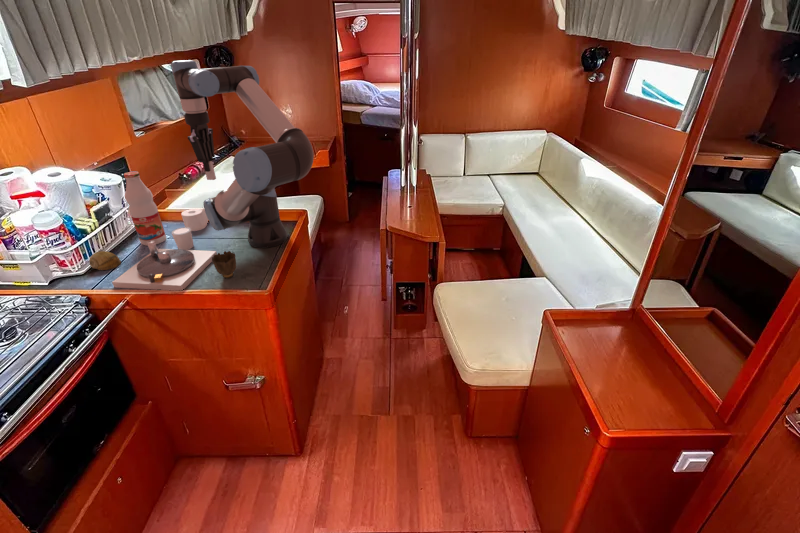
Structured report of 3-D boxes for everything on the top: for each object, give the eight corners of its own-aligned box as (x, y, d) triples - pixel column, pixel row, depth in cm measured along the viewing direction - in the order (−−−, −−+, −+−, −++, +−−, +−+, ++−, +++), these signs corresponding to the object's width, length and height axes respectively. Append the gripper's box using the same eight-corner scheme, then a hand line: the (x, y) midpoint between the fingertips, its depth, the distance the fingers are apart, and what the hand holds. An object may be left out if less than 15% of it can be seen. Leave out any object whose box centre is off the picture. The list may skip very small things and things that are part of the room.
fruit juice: (169, 234, 175) (148, 168, 161) (163, 244, 167) (140, 176, 153) (144, 237, 174) (121, 170, 160) (137, 247, 166) (112, 177, 152)
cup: (218, 284, 141) (213, 263, 137) (215, 274, 147) (209, 254, 143) (241, 278, 144) (236, 258, 140) (237, 269, 150) (232, 249, 146)
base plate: (217, 255, 159) (214, 244, 156) (182, 290, 138) (178, 278, 136) (157, 253, 161) (153, 242, 159) (114, 287, 140) (109, 275, 138)
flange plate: (204, 254, 155) (200, 237, 152) (172, 283, 138) (166, 265, 134) (159, 251, 157) (153, 235, 154) (121, 280, 140) (114, 262, 136)
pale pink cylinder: (198, 243, 168) (194, 227, 164) (189, 251, 162) (184, 234, 159) (182, 242, 169) (177, 226, 165) (172, 250, 163) (167, 234, 159)
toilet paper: (209, 219, 188) (205, 205, 185) (203, 230, 179) (199, 215, 175) (190, 221, 187) (186, 206, 184) (183, 231, 178) (178, 216, 174)
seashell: (119, 270, 158) (106, 253, 157) (129, 261, 155) (115, 243, 154) (95, 279, 149) (80, 261, 149) (104, 269, 146) (89, 250, 146)
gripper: (194, 107, 148) (210, 173, 160) (173, 114, 137) (192, 184, 149) (215, 108, 148) (229, 173, 159) (195, 115, 136) (212, 185, 148)
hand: (211, 179), depth 154 cm, fingers closed
